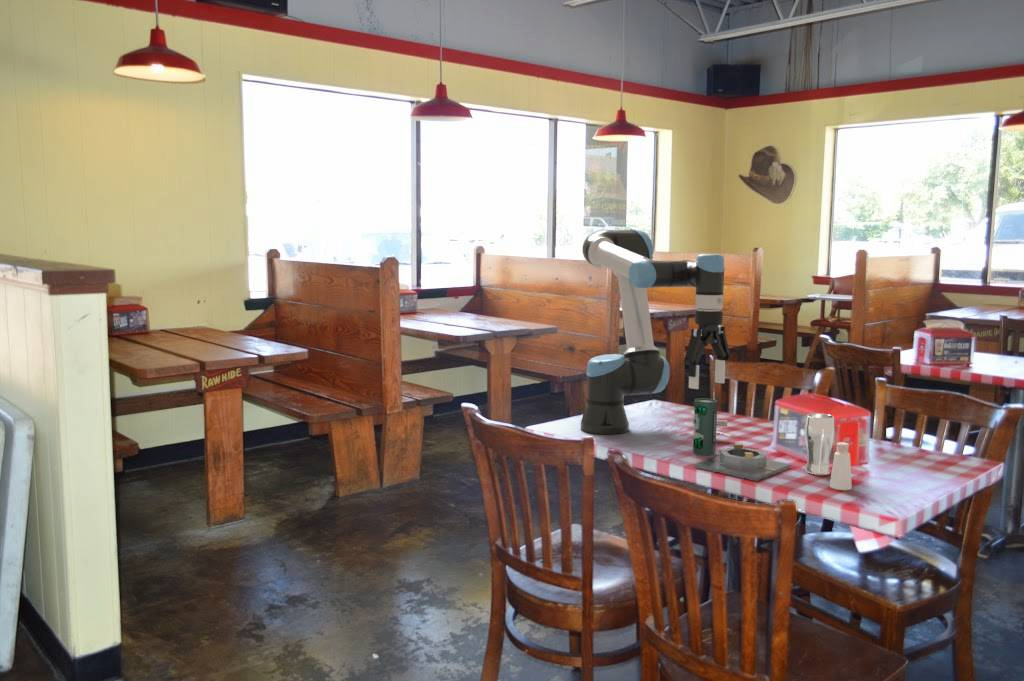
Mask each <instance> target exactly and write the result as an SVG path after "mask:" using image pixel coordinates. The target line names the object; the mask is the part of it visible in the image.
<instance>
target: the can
mask: <svg viewBox="0 0 1024 681" xmlns="http://www.w3.org/2000/svg"><path fill="white" fill-rule="evenodd" d="M693 410H694V412H693V414H694V415H693V416H694V417H693V418H694V424H693V437H692V438H693V441H692V453H693V454H695V453H696V454H695V455H698V454H701V455H700V456H712V455H711V454H713V455H715V454H716V450H717V448H716V447H717V444H716V443H717V433H716V431H717V426H716V424H717V420H718V419H717V418H718V399H715V398H709V397H707V398H705V397H702V398H701V397H698V398H695V399H694V409H693ZM714 453H715V454H714Z"/></svg>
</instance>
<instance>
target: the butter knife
mask: <svg viewBox="0 0 1024 681" xmlns="http://www.w3.org/2000/svg"><path fill="white" fill-rule="evenodd" d="M718 433H720V434H719V435H721V434H724V435H723V436H725V435H726V437H733V435H732V434H729V433H726V432H722V431H719V430H718V431H717V430H716V434H718Z"/></svg>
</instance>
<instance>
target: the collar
mask: <svg viewBox="0 0 1024 681" xmlns="http://www.w3.org/2000/svg"><path fill="white" fill-rule="evenodd" d="M743 445H744V444H743V443H733V447H728V448H724V449H721V450H720V451H719V455H717V456H715V457H712V458H709V459H705V460H703V461H699V462H697V463H694V468H695V469H699V470H704V471H708V472H712V471H713V472H712V473H716V472H720V473H719V474H721V473H725V474H724V475H726V474H729V475H728V476H730V475H733V476H732V477H735V476H737V477H736V478H739V477H740V479H744V478H746V479H745V480H748V479H750V481H753V480H754V481H753V482H759V481H762V480H764V479H766V477H767V478H769V477H771V475H772V476H774V475H776V473H777V474H779V473H781V472H780V471H782V472H783V470H784V471H786V470H785V469H787V468H789V469H791V468H792V467H791V465H792V464H791V463H786V462H781V461H776V460H771V459H767V456H768V455H767V454H766V453H764V452H763V451H762V450H758V449H753V448H748V447H744V446H743ZM790 467H791V468H790ZM787 470H788V469H787ZM778 472H779V473H778ZM768 476H769V477H768ZM763 478H764V479H763ZM761 479H762V480H761Z"/></svg>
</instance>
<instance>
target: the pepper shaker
mask: <svg viewBox="0 0 1024 681" xmlns="http://www.w3.org/2000/svg"><path fill="white" fill-rule="evenodd" d="M849 447H850V444H849V443H847V442H843V441H839V442H837V443H836V449H837V450H836V451H835V452H834V454H833V455H834V456H833V463H832V469H831V473H830V474H831V475H830V481H829V488H831V489H834V490H837V491H850V490H852V489H853V485H852V466H851V454H850V452H849Z"/></svg>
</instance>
